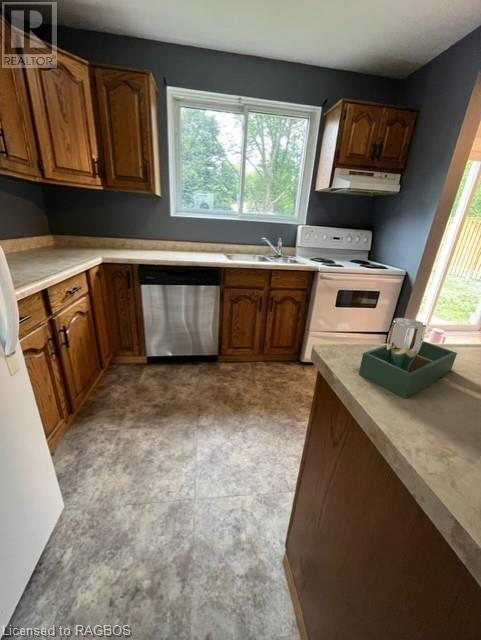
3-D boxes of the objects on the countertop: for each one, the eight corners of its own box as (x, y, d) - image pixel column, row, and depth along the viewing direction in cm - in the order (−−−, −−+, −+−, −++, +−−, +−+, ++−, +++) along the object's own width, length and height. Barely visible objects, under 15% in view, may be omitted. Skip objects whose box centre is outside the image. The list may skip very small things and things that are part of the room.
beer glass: (392, 370, 71) (407, 316, 66) (416, 384, 65) (435, 326, 60) (372, 374, 69) (385, 318, 64) (395, 389, 63) (412, 329, 57)
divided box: (405, 354, 80) (410, 336, 78) (450, 373, 71) (457, 352, 69) (358, 373, 68) (363, 352, 66) (404, 398, 59) (412, 375, 57)
